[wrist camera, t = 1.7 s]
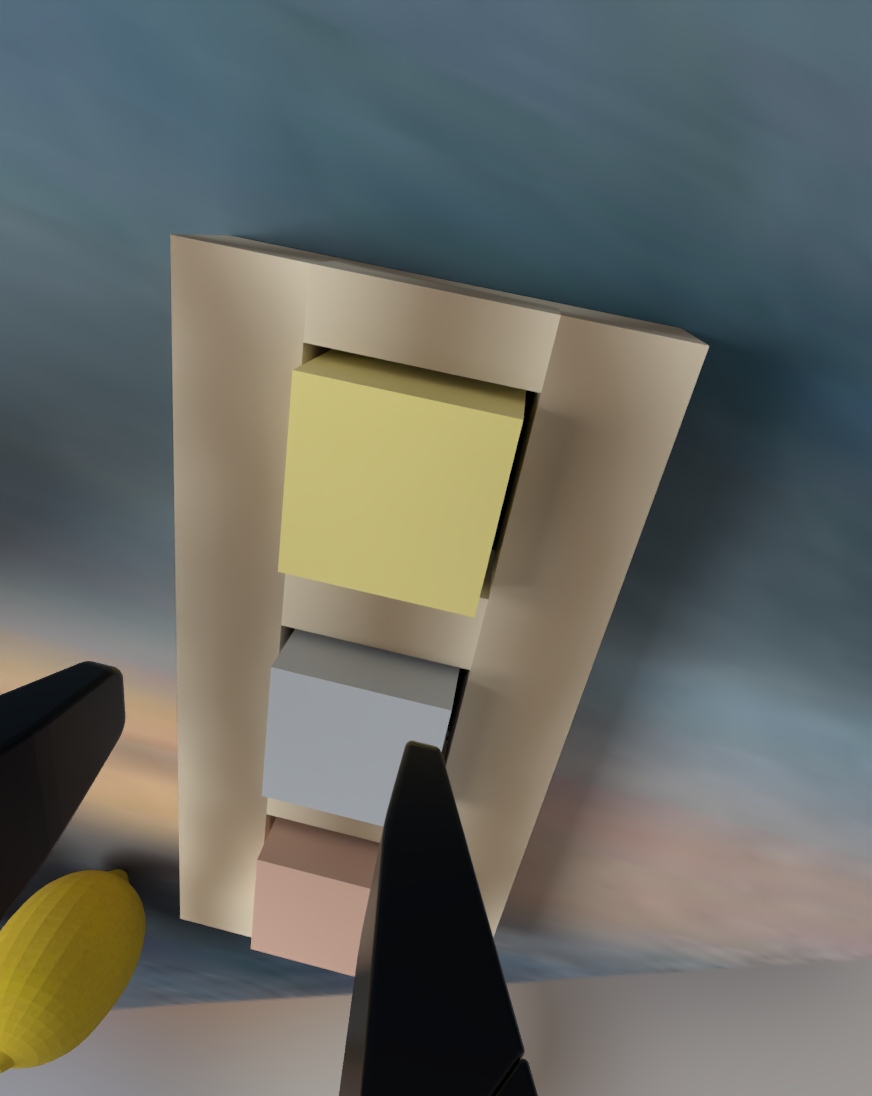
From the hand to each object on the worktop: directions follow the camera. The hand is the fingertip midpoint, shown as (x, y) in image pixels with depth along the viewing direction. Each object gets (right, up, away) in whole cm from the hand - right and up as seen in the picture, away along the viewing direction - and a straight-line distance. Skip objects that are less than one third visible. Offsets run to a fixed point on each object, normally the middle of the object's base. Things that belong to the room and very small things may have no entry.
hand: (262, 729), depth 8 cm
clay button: (-1, -9, +17) cm, 19 cm away
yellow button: (+2, +5, +9) cm, 10 cm away
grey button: (0, -2, +13) cm, 13 cm away
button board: (0, -2, +14) cm, 14 cm away
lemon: (-13, -13, +22) cm, 28 cm away
